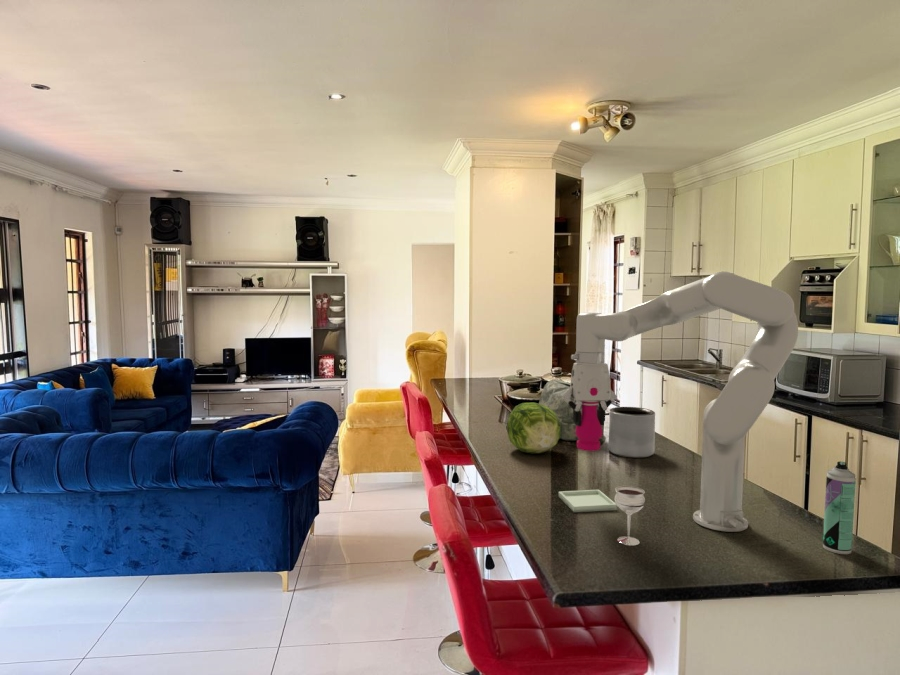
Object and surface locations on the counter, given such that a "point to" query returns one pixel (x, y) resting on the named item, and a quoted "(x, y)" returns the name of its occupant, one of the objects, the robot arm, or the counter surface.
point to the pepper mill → (589, 426)
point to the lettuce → (533, 428)
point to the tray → (587, 500)
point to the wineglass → (629, 507)
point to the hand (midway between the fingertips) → (589, 423)
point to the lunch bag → (560, 407)
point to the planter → (631, 432)
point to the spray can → (839, 509)
